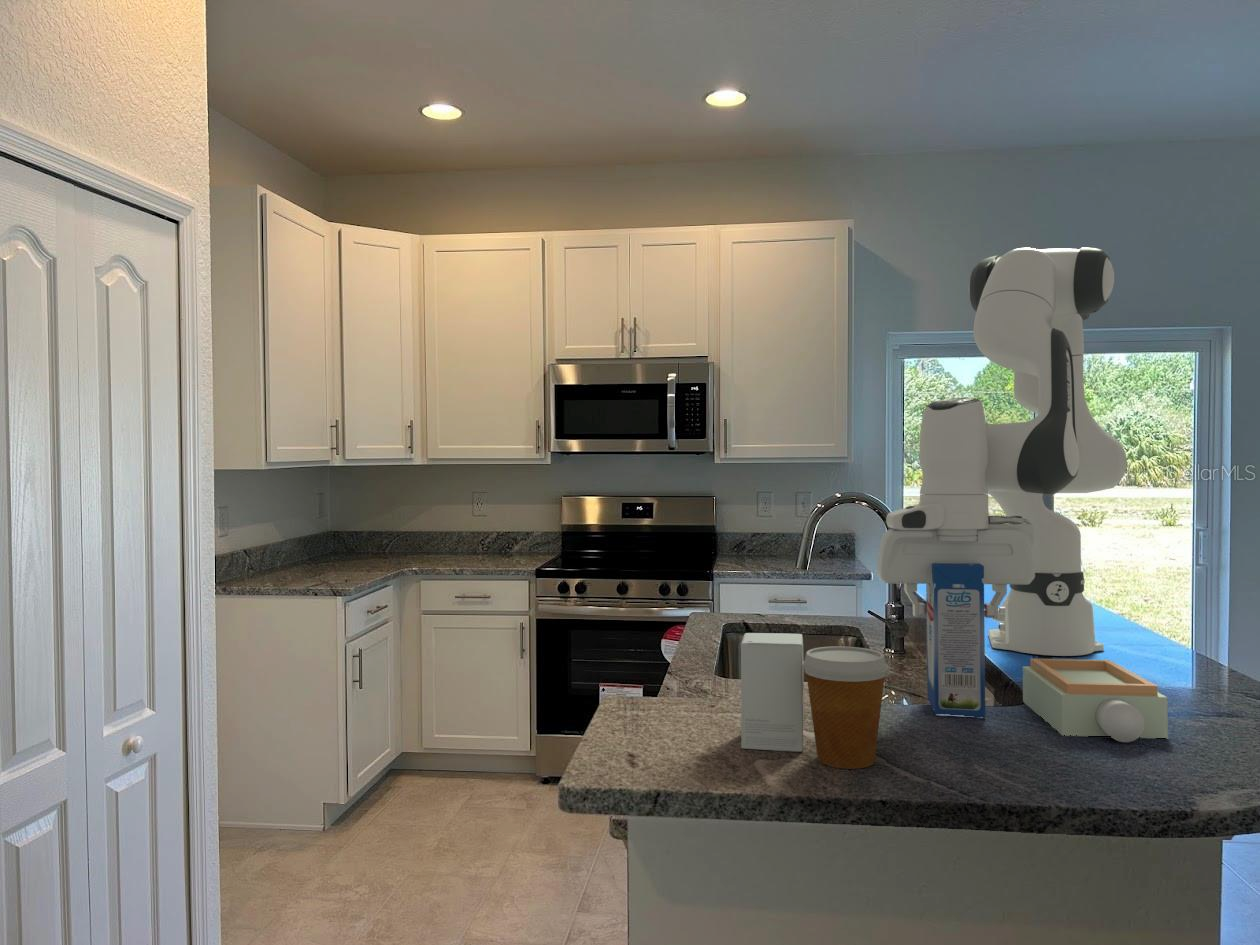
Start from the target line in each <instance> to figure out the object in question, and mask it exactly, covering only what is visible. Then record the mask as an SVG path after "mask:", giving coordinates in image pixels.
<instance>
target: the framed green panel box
mask: <svg viewBox="0 0 1260 945" xmlns="http://www.w3.org/2000/svg"><path fill="white" fill-rule="evenodd" d="M1158 690H1159V689H1158V685H1156V684H1154V683H1153V682H1151V681H1149V680H1147V679H1145V678H1143V677H1142V676H1140V675H1138V674H1136V673H1134V672H1133V671H1130V670H1129V669H1126V668H1124V667H1123V666H1121V665H1119V664H1117V663H1116V662H1114V661H1112V660H1109V659H1081V658H1080V659H1079V658H1078V659H1073V658H1071V659H1070V658H1067V659H1066V658H1030V665H1028V666H1027V665H1026V666H1025V665H1022V702H1023V703H1024V704H1025V705H1026V706H1027V707H1028V708H1030V709H1031V710H1032V712H1034V713H1035V714H1037V716H1039V717H1040V716H1041V717H1042V718H1043V719H1044V720H1043V719H1042V718H1041V717H1040V718H1041V719H1042V720H1043V721H1045V722H1046V723H1047V722H1048V723H1049V724H1050V725H1051V726H1050V725H1049V724H1048V723H1047V724H1048V725H1049V726H1050V727H1052V729H1054V728H1055V729H1056V730H1057V731H1058V732H1057V731H1056V730H1055V729H1054V730H1055V731H1056V732H1057V733H1058V734H1060V735H1061V736H1062V737H1088V736H1111V737H1110V738H1112V739H1114V740H1115V741H1117V742H1120V743H1131V742H1134V741H1136V740H1137V739H1156V738H1166V739H1165V740H1168V739H1169V738H1168V737H1169V734H1168V733H1169V729H1168V728H1169V725H1168V722H1169V721H1168V719H1169V717H1168V710H1169V709H1168V696H1166V695H1164V694H1162V693H1161V692H1159V691H1158ZM1064 735H1065V736H1064ZM1070 735H1071V736H1070ZM1076 735H1077V736H1076ZM1139 737H1140V738H1139Z"/></svg>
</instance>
